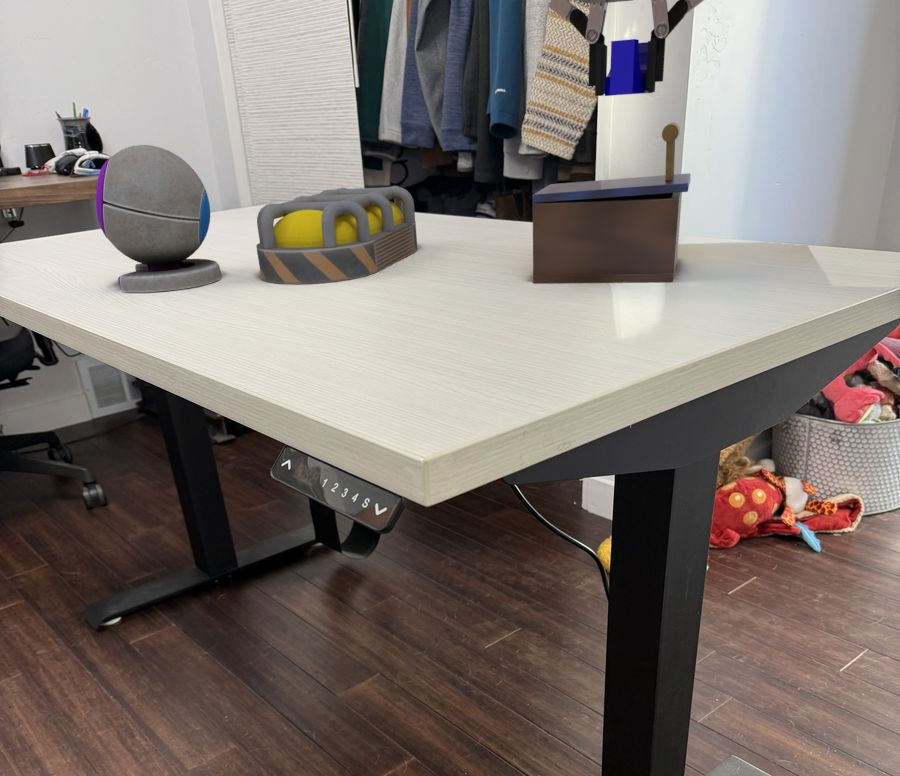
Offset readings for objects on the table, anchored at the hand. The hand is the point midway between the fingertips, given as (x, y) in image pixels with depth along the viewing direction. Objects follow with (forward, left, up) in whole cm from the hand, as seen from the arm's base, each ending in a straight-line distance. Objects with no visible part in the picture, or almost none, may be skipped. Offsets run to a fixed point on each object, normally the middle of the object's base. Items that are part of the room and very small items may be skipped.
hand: (625, 91), depth 78 cm
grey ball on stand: (+55, -7, -17) cm, 58 cm away
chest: (+2, -10, -17) cm, 20 cm away
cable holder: (0, 0, 0) cm, 1 cm away
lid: (+2, -10, -9) cm, 13 cm away
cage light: (+37, -20, -17) cm, 45 cm away
